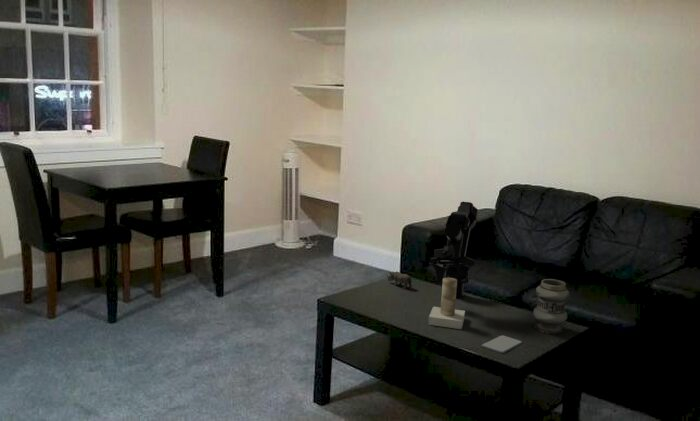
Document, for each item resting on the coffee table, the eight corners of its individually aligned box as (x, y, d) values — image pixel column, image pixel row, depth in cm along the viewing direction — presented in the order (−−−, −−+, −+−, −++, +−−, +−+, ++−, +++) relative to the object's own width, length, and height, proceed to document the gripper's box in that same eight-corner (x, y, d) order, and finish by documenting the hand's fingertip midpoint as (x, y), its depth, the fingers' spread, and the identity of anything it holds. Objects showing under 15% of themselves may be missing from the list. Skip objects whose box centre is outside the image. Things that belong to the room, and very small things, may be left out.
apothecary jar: (524, 324, 250) (529, 278, 246) (550, 321, 255) (556, 276, 251) (545, 336, 239) (551, 288, 235) (572, 333, 244) (578, 285, 240)
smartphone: (523, 341, 232) (502, 352, 221) (523, 344, 232) (502, 355, 221) (501, 334, 237) (480, 344, 226) (501, 337, 237) (480, 347, 226)
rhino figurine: (389, 280, 295) (390, 267, 294) (413, 288, 285) (414, 275, 284) (383, 282, 292) (384, 269, 291) (407, 290, 283) (408, 276, 281)
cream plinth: (432, 314, 255) (433, 306, 255) (464, 318, 253) (465, 310, 252) (428, 324, 244) (428, 316, 243) (461, 329, 241) (462, 321, 241)
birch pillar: (449, 310, 251) (452, 277, 249) (457, 315, 246) (459, 281, 244) (437, 311, 249) (440, 278, 247) (445, 316, 244) (447, 282, 242)
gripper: (422, 239, 263) (416, 278, 260) (458, 237, 249) (452, 278, 245) (442, 247, 270) (435, 285, 266) (478, 246, 256) (471, 286, 252)
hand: (447, 283), depth 257 cm, fingers open, 9 cm apart
